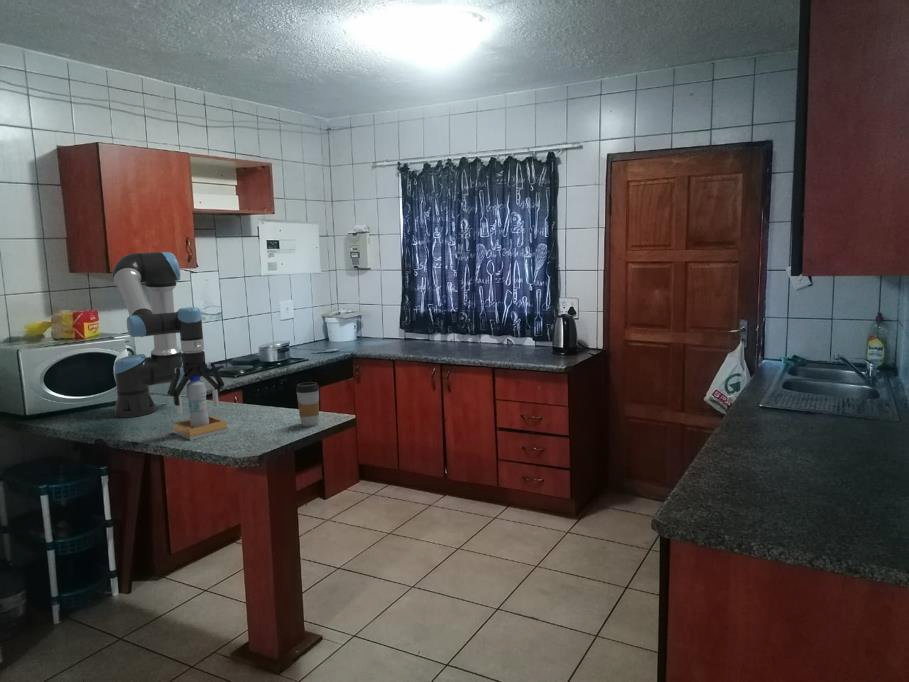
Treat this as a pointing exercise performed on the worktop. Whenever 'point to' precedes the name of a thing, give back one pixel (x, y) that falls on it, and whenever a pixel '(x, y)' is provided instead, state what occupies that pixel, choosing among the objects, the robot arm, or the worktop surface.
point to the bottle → (197, 402)
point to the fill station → (200, 428)
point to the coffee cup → (308, 403)
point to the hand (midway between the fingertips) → (198, 410)
